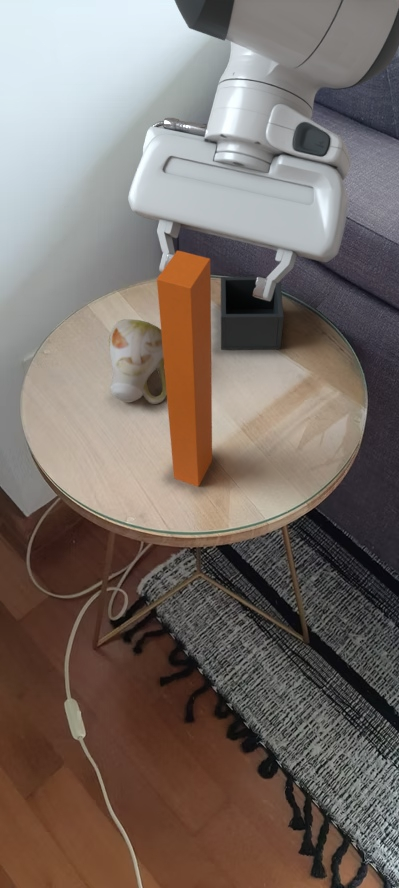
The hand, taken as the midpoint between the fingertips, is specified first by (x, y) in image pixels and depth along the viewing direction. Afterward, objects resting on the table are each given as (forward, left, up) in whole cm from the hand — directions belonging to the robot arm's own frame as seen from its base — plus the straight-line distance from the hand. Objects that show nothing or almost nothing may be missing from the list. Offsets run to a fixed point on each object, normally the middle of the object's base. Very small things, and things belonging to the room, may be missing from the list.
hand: (214, 286), depth 64 cm
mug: (+12, -5, -22) cm, 25 cm away
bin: (+1, -18, -21) cm, 28 cm away
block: (+1, +6, -21) cm, 22 cm away
